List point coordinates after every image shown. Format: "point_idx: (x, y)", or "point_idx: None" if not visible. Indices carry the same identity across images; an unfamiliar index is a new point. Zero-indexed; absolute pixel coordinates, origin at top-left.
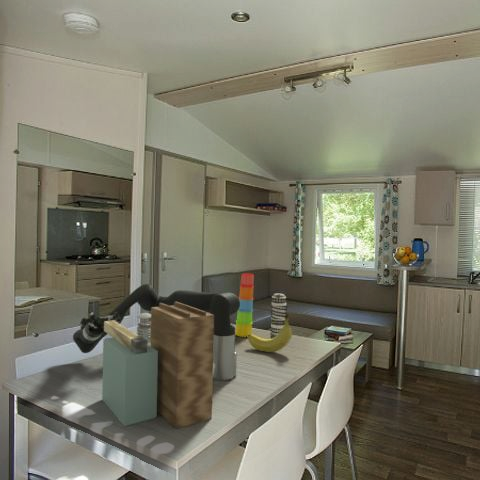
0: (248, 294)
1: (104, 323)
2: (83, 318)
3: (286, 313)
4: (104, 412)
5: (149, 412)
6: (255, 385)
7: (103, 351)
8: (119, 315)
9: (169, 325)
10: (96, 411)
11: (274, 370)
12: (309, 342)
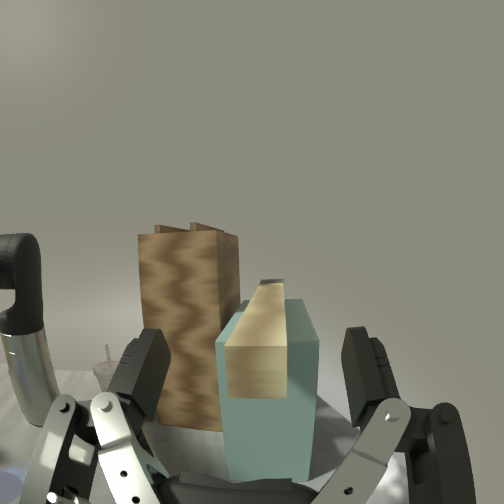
0: None
1: (286, 354)
2: (446, 404)
3: None
4: (318, 437)
5: None
6: (67, 382)
7: (317, 377)
8: (70, 399)
9: (233, 251)
10: (331, 443)
11: (5, 378)
12: None
